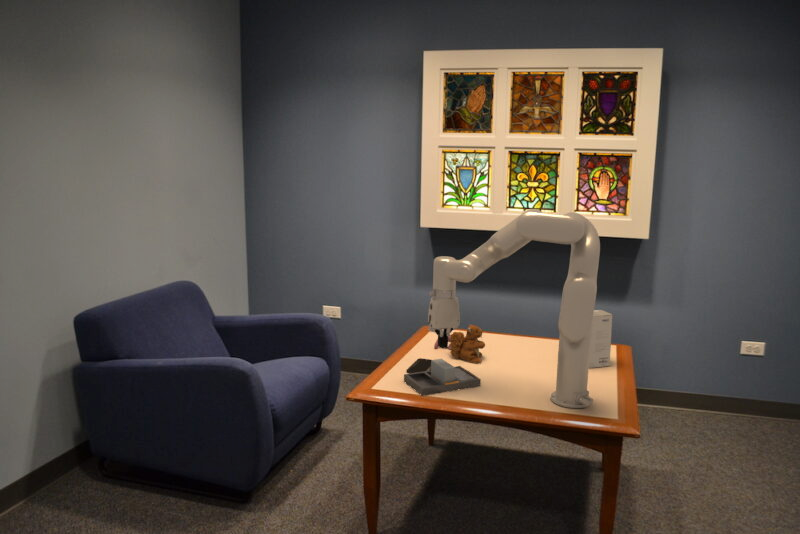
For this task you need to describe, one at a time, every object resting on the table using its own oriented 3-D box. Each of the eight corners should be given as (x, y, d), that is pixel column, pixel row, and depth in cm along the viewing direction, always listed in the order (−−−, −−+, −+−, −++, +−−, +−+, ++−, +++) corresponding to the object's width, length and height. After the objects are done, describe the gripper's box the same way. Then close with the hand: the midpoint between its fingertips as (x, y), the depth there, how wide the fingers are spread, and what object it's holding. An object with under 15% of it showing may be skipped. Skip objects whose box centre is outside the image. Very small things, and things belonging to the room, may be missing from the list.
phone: (438, 360, 232) (426, 373, 218) (438, 363, 232) (426, 376, 218) (418, 357, 234) (405, 370, 221) (418, 360, 235) (405, 373, 221)
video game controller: (459, 354, 246) (463, 337, 248) (454, 352, 242) (458, 335, 244) (437, 350, 251) (441, 333, 253) (432, 348, 247) (436, 331, 249)
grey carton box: (598, 360, 237) (602, 309, 233) (610, 366, 230) (614, 314, 226) (562, 363, 233) (565, 311, 229) (572, 370, 226) (576, 317, 222)
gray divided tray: (480, 386, 209) (480, 378, 208) (422, 395, 200) (422, 387, 199) (459, 372, 221) (459, 365, 221) (403, 381, 212) (404, 373, 212)
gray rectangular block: (455, 384, 207) (455, 367, 206) (444, 386, 205) (445, 369, 204) (441, 375, 216) (441, 358, 215) (430, 376, 214) (431, 360, 213)
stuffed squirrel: (482, 364, 230) (483, 330, 228) (445, 360, 234) (446, 327, 232) (486, 356, 240) (487, 323, 237) (450, 352, 244) (451, 320, 241)
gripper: (429, 298, 198) (428, 353, 202) (469, 294, 205) (467, 347, 208) (418, 293, 205) (417, 346, 209) (458, 289, 211) (456, 341, 215)
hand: (442, 346), depth 208 cm, fingers closed
